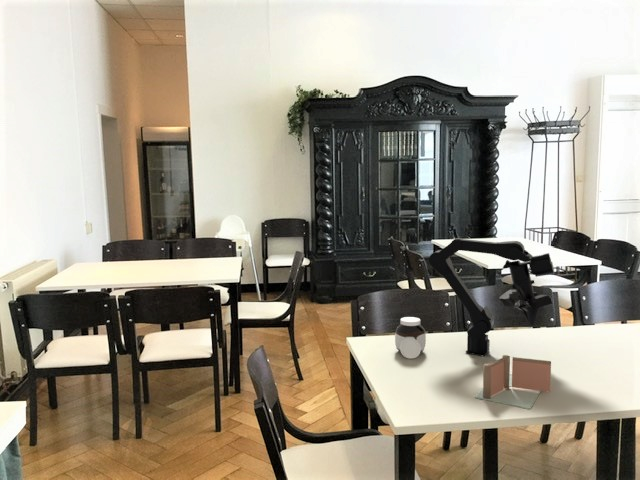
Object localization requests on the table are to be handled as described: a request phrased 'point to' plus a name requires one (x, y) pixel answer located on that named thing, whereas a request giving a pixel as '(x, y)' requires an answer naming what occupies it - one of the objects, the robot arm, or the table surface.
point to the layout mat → (513, 396)
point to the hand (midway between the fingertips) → (531, 325)
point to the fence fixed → (493, 378)
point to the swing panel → (527, 373)
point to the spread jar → (410, 337)
